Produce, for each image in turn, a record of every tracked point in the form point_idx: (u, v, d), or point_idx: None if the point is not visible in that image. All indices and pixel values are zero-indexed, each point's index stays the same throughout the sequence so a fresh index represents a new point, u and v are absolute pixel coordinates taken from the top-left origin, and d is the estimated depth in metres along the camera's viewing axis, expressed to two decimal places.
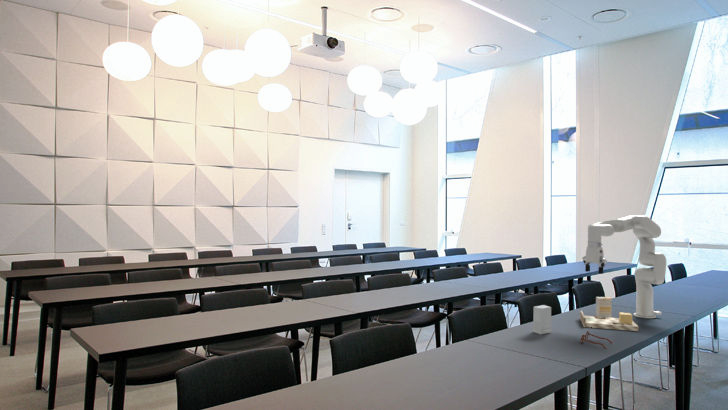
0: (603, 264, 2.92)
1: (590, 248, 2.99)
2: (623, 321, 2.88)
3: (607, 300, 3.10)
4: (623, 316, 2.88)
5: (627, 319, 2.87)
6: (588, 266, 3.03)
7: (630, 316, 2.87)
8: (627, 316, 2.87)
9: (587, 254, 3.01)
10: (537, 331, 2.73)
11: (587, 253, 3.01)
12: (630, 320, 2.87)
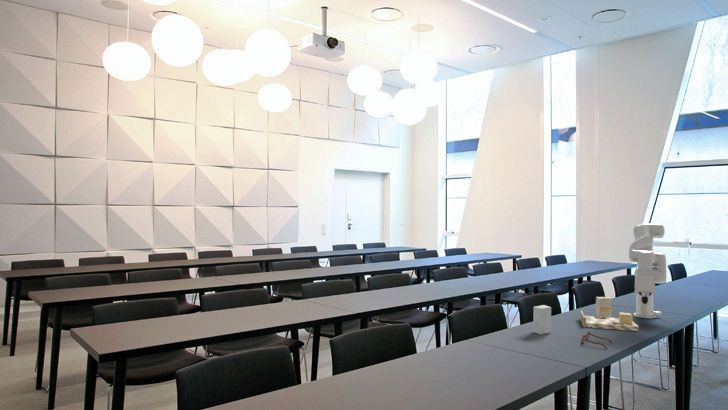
0: (651, 294, 2.85)
1: (644, 277, 2.85)
2: (623, 321, 2.88)
3: (607, 300, 3.10)
4: (623, 316, 2.88)
5: (627, 319, 2.87)
6: None
7: (630, 316, 2.87)
8: (627, 316, 2.87)
9: (639, 283, 2.86)
10: (537, 331, 2.73)
11: (639, 282, 2.86)
12: (630, 320, 2.87)
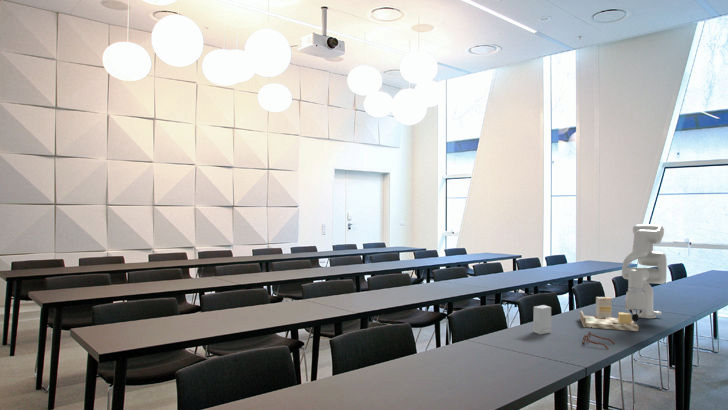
0: (641, 312, 2.87)
1: (635, 295, 2.86)
2: (622, 321, 2.88)
3: (607, 300, 3.10)
4: (622, 316, 2.88)
5: (626, 319, 2.87)
6: None
7: (629, 316, 2.87)
8: (626, 316, 2.87)
9: (630, 301, 2.87)
10: (537, 331, 2.73)
11: (630, 300, 2.87)
12: (629, 320, 2.87)
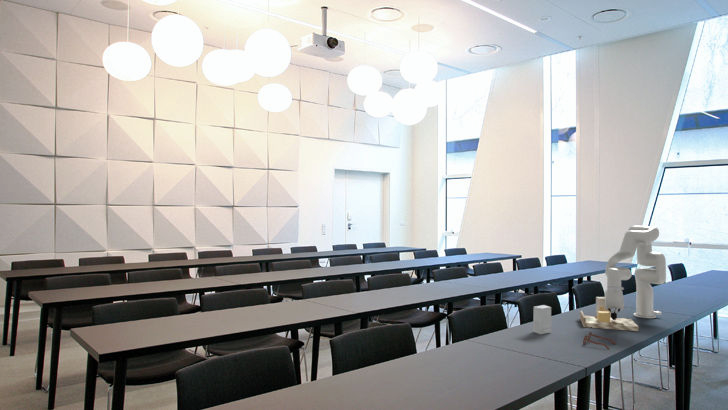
0: (619, 310, 2.90)
1: (613, 293, 2.90)
2: (601, 320, 2.91)
3: None
4: (601, 314, 2.91)
5: (605, 317, 2.91)
6: None
7: (608, 315, 2.90)
8: (605, 315, 2.91)
9: (609, 299, 2.91)
10: (537, 331, 2.73)
11: (608, 298, 2.91)
12: (608, 318, 2.90)
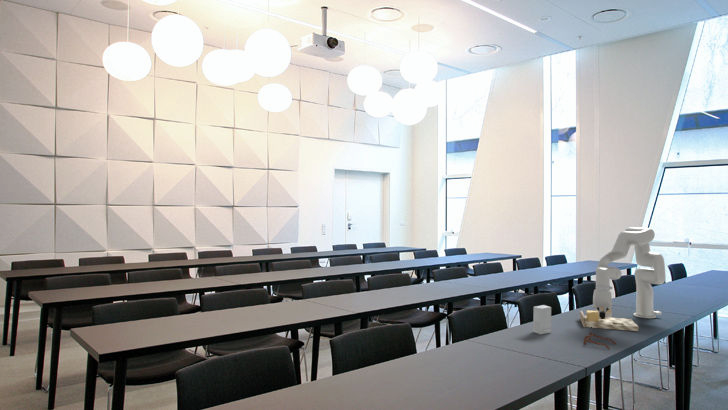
0: (608, 309, 2.92)
1: (601, 293, 2.92)
2: (590, 319, 2.93)
3: None
4: (590, 314, 2.93)
5: (594, 317, 2.93)
6: None
7: (596, 314, 2.92)
8: (594, 314, 2.93)
9: (597, 298, 2.93)
10: (537, 331, 2.73)
11: (597, 297, 2.93)
12: (597, 318, 2.92)
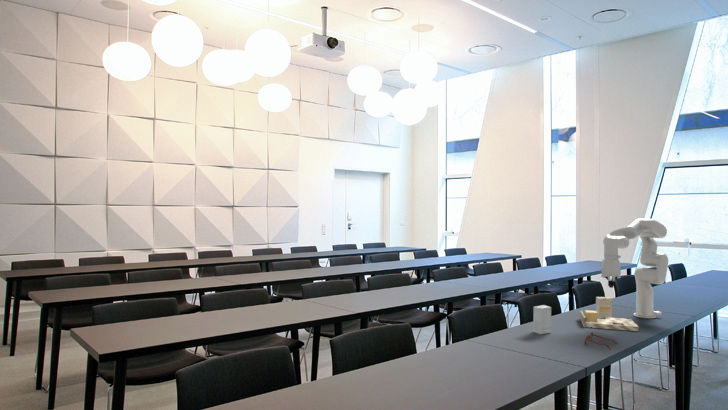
0: (616, 278, 2.94)
1: (610, 261, 2.94)
2: (589, 319, 2.93)
3: (607, 300, 3.10)
4: (588, 314, 2.93)
5: (592, 317, 2.93)
6: None
7: (595, 314, 2.92)
8: (592, 314, 2.93)
9: (606, 267, 2.95)
10: (537, 331, 2.73)
11: (606, 266, 2.95)
12: (595, 318, 2.92)
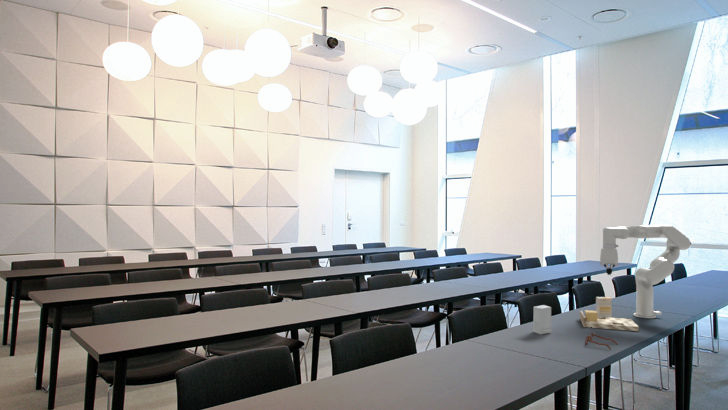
0: None
1: (608, 250, 3.15)
2: (589, 319, 2.93)
3: (607, 300, 3.10)
4: (588, 314, 2.93)
5: (592, 317, 2.93)
6: None
7: (595, 314, 2.92)
8: (592, 314, 2.93)
9: (604, 256, 3.16)
10: (537, 331, 2.73)
11: (604, 255, 3.16)
12: (595, 318, 2.92)
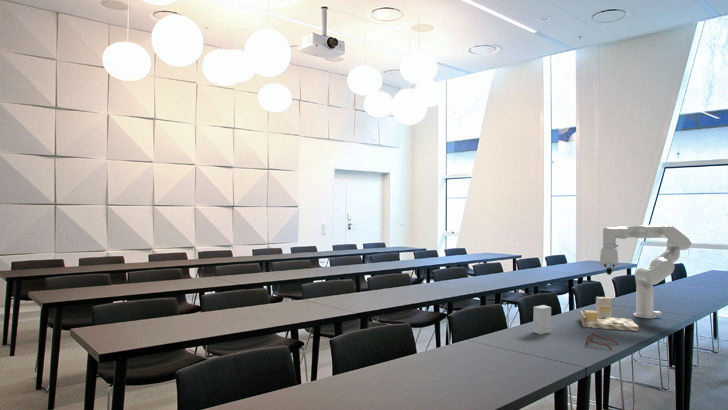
0: (614, 265, 3.16)
1: (608, 250, 3.15)
2: (589, 319, 2.93)
3: (607, 300, 3.10)
4: (588, 314, 2.93)
5: (592, 317, 2.93)
6: None
7: (595, 314, 2.92)
8: (592, 314, 2.93)
9: (604, 256, 3.16)
10: (537, 331, 2.73)
11: (604, 255, 3.16)
12: (595, 318, 2.92)
